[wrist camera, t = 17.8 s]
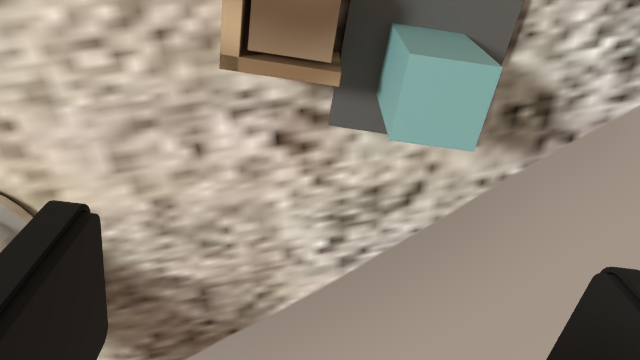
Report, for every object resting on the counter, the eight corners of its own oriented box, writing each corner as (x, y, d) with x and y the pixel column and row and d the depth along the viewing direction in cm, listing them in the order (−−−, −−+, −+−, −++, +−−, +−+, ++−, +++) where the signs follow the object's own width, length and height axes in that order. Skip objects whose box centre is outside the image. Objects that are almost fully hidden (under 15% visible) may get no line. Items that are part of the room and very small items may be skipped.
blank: (444, 103, 30) (473, 151, 24) (376, 94, 30) (389, 140, 24) (464, 33, 28) (502, 67, 22) (391, 22, 28) (409, 53, 22)
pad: (470, 142, 32) (473, 146, 32) (328, 121, 32) (328, 125, 31) (523, -10, 27) (527, -9, 27) (356, -39, 27) (356, -38, 26)
